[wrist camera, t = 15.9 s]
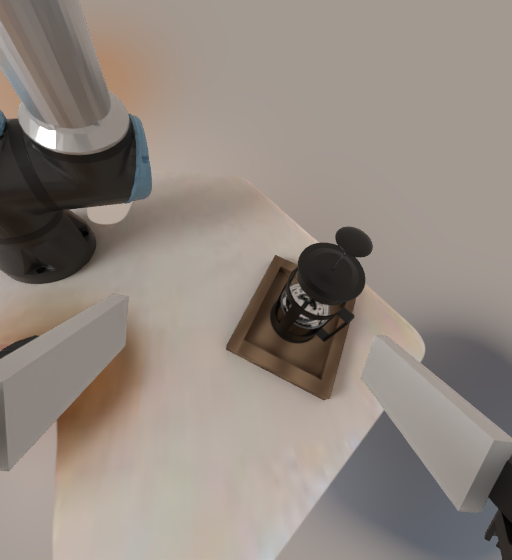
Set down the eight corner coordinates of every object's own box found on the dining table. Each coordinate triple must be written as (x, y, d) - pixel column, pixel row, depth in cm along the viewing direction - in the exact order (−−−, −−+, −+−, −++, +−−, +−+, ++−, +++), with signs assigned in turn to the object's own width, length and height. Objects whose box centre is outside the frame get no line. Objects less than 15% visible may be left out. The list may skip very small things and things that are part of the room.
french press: (256, 313, 45) (291, 227, 26) (289, 285, 50) (340, 193, 30) (304, 362, 42) (384, 306, 23) (335, 327, 46) (425, 255, 27)
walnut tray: (225, 349, 42) (226, 345, 40) (272, 261, 53) (275, 255, 51) (323, 400, 40) (329, 398, 38) (351, 298, 51) (357, 293, 49)
